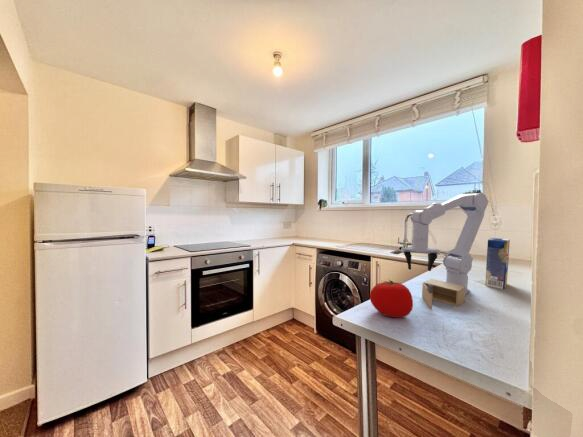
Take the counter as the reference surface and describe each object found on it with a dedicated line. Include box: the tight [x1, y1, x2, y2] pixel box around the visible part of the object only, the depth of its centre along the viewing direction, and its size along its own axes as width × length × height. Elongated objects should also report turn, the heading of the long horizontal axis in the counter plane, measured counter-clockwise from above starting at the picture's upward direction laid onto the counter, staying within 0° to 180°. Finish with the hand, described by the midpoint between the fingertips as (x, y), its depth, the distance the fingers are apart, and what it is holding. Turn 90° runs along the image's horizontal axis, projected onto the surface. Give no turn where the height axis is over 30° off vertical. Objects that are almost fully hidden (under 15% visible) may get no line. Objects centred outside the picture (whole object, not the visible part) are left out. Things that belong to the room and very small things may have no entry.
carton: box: [422, 278, 466, 307], centre depth 98 cm, size 8×13×6 cm, turn 38°
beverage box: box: [484, 237, 511, 290], centre depth 115 cm, size 7×11×22 cm, turn 133°
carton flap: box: [421, 282, 433, 310], centre depth 94 cm, size 1×12×8 cm, turn 165°
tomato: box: [369, 279, 414, 318], centre depth 84 cm, size 12×14×12 cm
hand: (419, 269), depth 103 cm, fingers open, 7 cm apart
